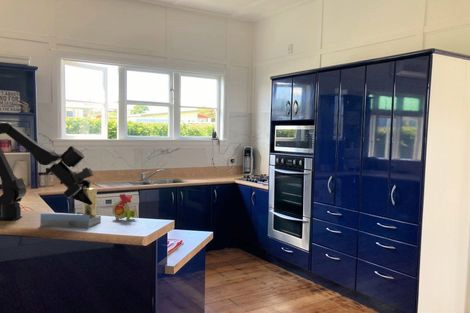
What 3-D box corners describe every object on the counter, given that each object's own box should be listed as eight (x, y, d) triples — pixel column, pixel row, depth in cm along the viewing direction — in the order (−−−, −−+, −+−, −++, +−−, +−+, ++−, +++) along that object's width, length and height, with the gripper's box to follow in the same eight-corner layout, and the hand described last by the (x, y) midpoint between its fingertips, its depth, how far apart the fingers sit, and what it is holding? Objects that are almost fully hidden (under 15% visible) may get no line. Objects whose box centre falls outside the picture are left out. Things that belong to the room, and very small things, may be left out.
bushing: (80, 220, 151) (81, 189, 151) (86, 218, 156) (86, 187, 156) (93, 221, 151) (93, 189, 151) (98, 218, 156) (98, 188, 156)
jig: (40, 226, 140) (40, 213, 140) (56, 219, 151) (56, 208, 151) (88, 228, 139) (88, 215, 139) (100, 221, 150) (100, 210, 150)
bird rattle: (114, 226, 152) (134, 218, 151) (104, 200, 152) (124, 192, 151) (120, 223, 158) (140, 215, 157) (110, 198, 159) (130, 190, 158)
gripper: (73, 162, 143) (103, 192, 145) (86, 160, 162) (112, 186, 163) (51, 183, 142) (81, 212, 144) (66, 178, 161) (93, 204, 163)
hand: (93, 203), depth 154 cm, fingers closed on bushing, 5 cm apart
